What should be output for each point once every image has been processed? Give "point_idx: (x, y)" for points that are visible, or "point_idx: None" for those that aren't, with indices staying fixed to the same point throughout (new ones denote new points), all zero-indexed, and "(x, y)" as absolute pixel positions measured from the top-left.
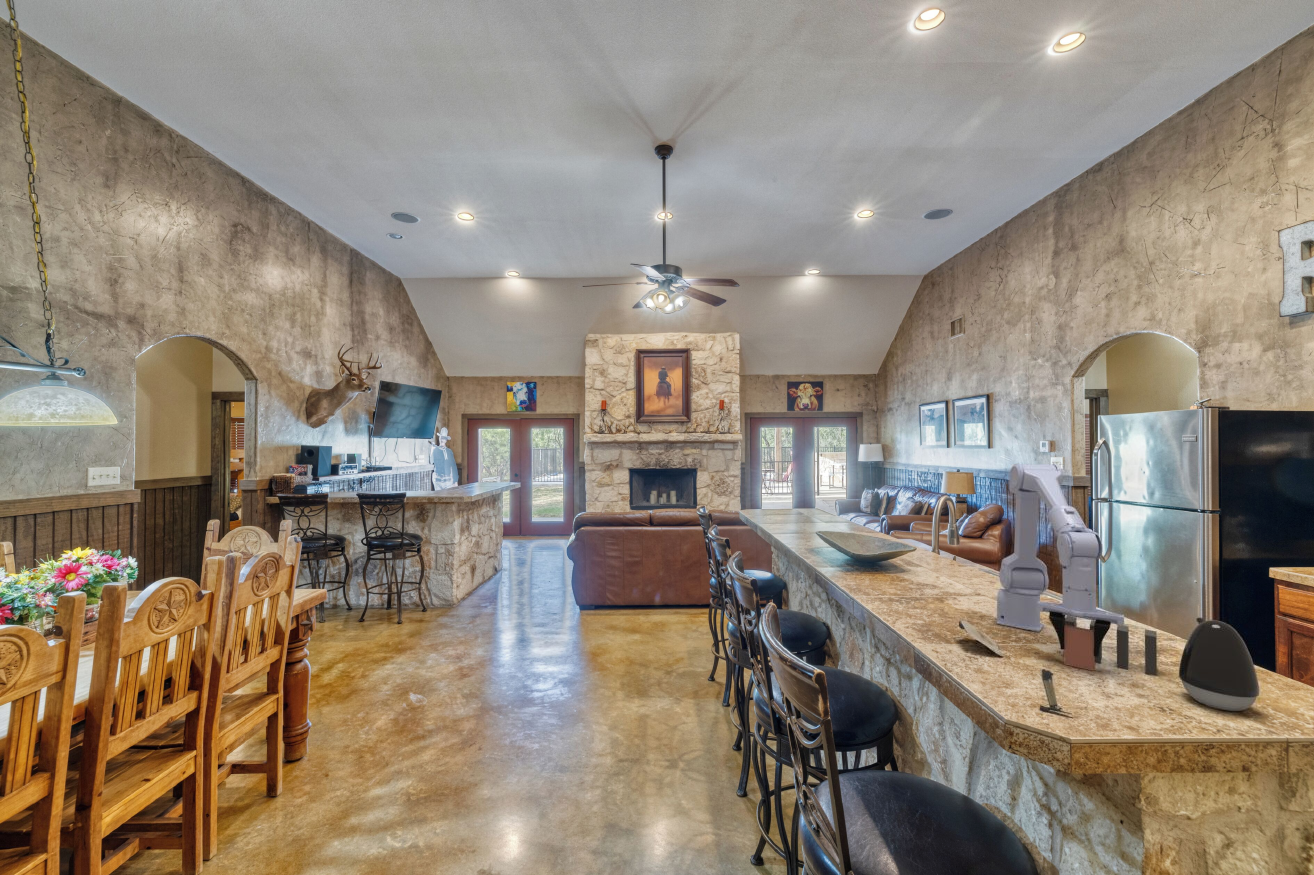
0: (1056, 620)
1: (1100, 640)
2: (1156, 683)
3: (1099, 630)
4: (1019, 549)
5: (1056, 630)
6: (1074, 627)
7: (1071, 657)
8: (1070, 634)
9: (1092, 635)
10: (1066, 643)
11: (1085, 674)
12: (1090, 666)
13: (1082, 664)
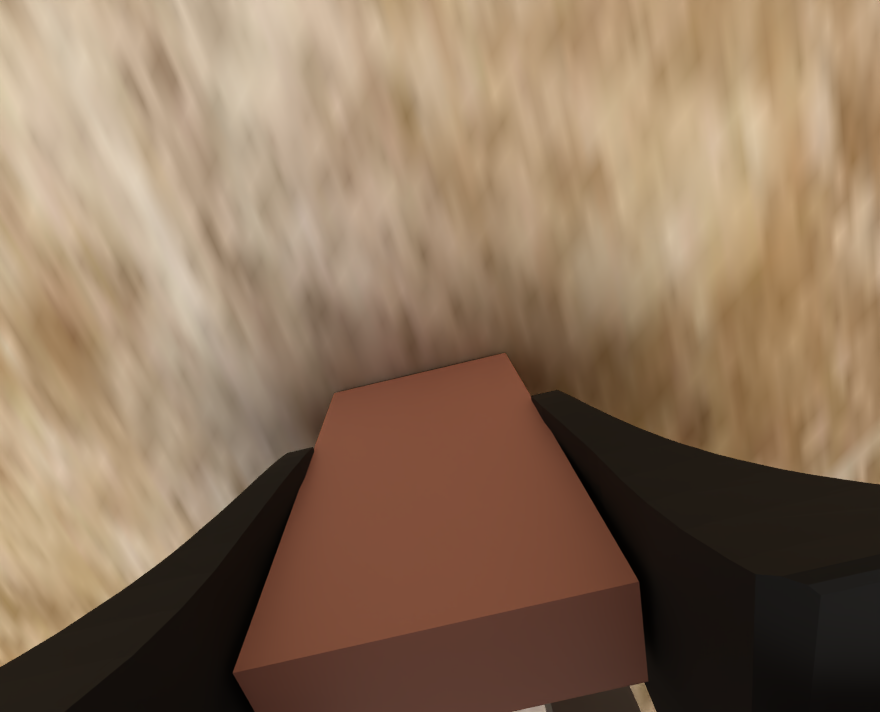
0: (868, 529)
1: (165, 562)
2: (41, 502)
3: (19, 688)
4: None
5: (696, 455)
6: (515, 668)
7: (471, 388)
8: (522, 519)
9: (267, 613)
10: (532, 435)
11: (340, 269)
12: (351, 399)
13: (399, 388)
